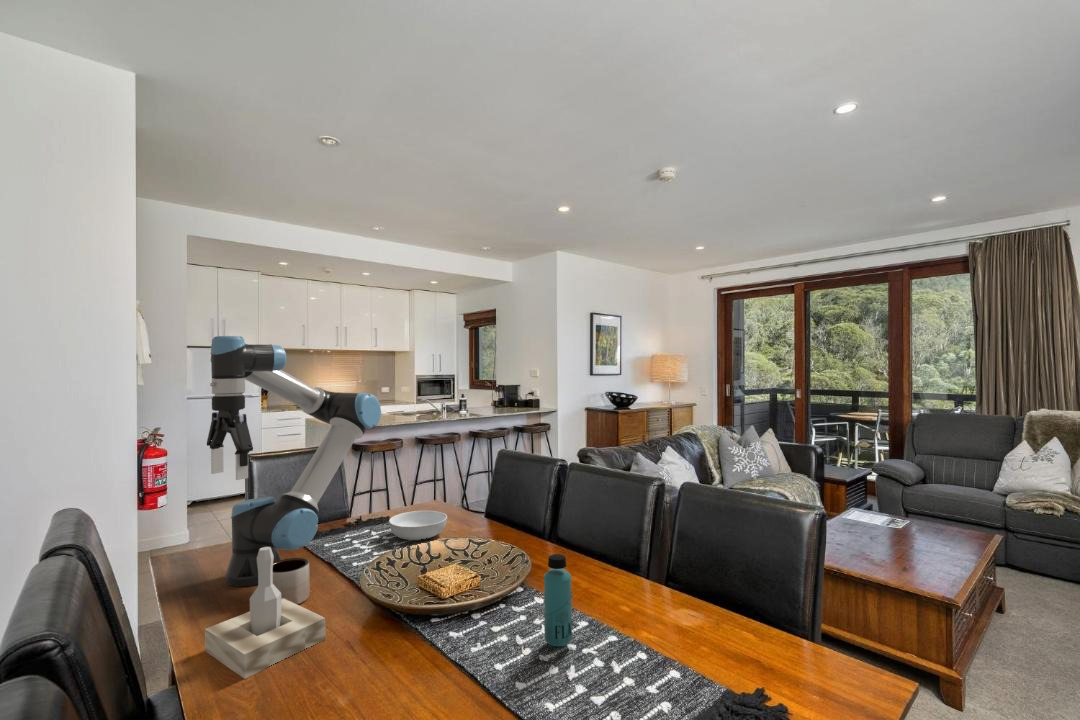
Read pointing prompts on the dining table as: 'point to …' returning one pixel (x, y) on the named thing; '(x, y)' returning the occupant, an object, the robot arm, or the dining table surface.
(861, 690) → the dining table surface
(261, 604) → the low poly bottle
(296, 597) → the planter
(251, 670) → the socket block
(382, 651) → the dining table surface
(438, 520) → the serving bowl
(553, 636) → the beverage bottle
